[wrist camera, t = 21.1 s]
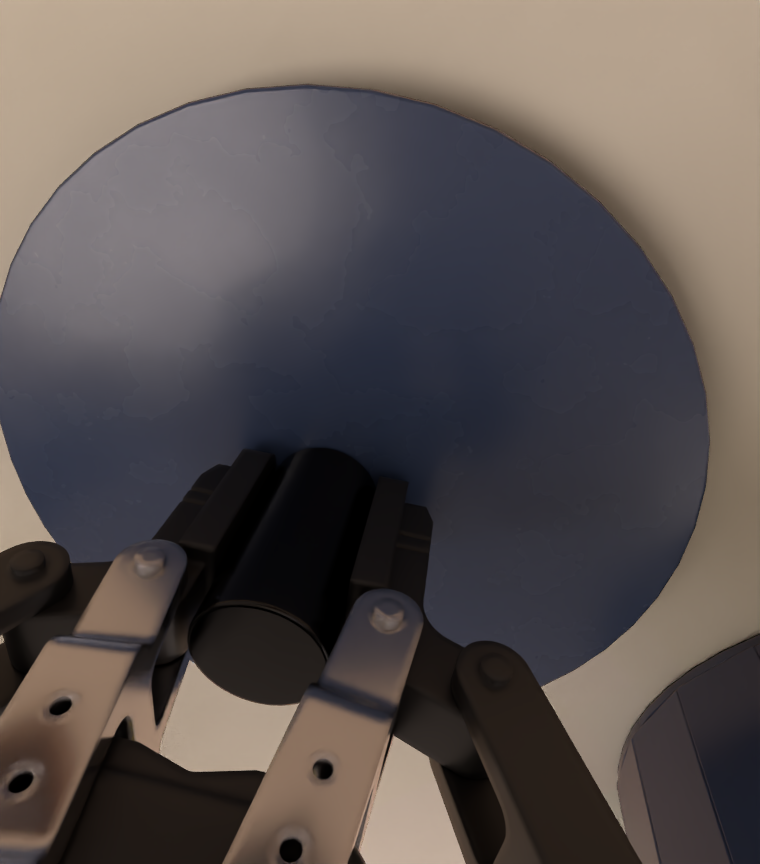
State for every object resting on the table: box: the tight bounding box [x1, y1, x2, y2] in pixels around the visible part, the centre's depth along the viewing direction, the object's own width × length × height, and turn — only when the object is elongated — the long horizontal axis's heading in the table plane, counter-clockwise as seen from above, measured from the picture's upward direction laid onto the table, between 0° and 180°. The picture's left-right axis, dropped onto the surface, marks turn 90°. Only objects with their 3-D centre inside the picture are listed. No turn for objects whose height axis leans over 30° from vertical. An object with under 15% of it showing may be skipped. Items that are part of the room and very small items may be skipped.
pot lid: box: [0, 84, 710, 706], centre depth 13 cm, size 17×17×6 cm
